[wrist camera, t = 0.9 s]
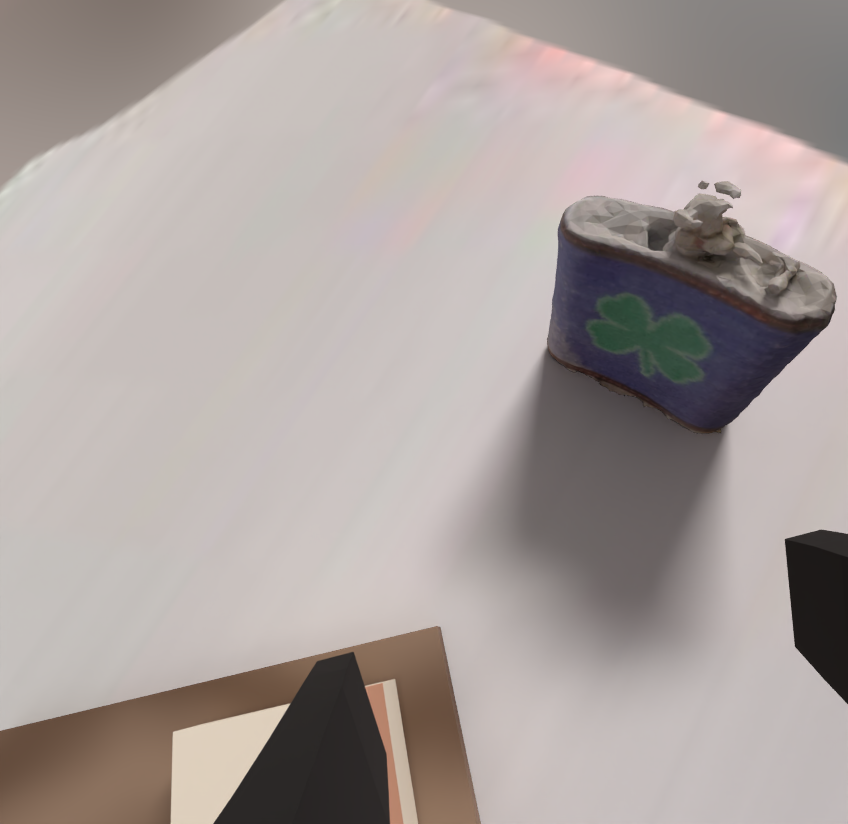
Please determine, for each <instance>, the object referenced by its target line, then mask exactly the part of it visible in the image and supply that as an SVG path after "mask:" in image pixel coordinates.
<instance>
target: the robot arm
mask: <svg viewBox="0 0 848 824" xmlns="http://www.w3.org/2000/svg"><path fill="white" fill-rule="evenodd" d="M785 546H786V557H787V567H788V578H789V588H790V599H791V610H792V620H793V631H794V641H795V647H796V648H797V649H798V650H799V652H800V653H801V654H802V655H803V656H804V657H805V658H806V659H807V661H808V662H809V663H810V664H811V665H812V666H813V667H814V668H815V670H816V671H817V672H818V673H819V674H820V675H821V676H822V677H823V678H824V680H825V681H826V682H827V683H828V684H829V685H830V686H831V687H832V688H833V689H834V690H835V691H836V692H837V693H838V694H839V695H840V696H841V697H842V699H843V700H844V701H845V702H846V703H847V704H848V534H844V533H839V532H833V531H827V530H818V531H814V532H810V533H806V534H803V535H799V536H795V537H791V538H787V539H785ZM213 824H390V810H389V788H388V770H387V754H386V750H385V747H384V744H383V741H382V738H381V735H380V732H379V729H378V726H377V723H376V719H375V716H374V713H373V710H372V707H371V704H370V701H369V698H368V695H367V692H366V688H365V685H364V682H363V679H362V676H361V673H360V670H359V667H358V664H357V661H356V657H355V654H354V652H350V653H346V654H342V655H339V656H335V657H331V658H327V659H323V660H319V661H317V662H316V664H315V665H314V667H313V668H312V670H311V671H310V673H309V675H308V676H307V678H306V679H305V681H304V682H303V684H302V686H301V687H300V689H299V690H298V692H297V694H296V695H295V697H294V699H293V700H292V702H291V704H290V705H289V707H288V708H287V710H286V712H285V713H284V715H283V717H282V718H281V720H280V721H279V723H278V725H277V726H276V728H275V730H274V731H273V733H272V734H271V736H270V738H269V739H268V741H267V742H266V744H265V746H264V747H263V749H262V750H261V752H260V753H259V755H258V757H257V758H256V760H255V761H254V763H253V764H252V766H251V767H250V769H249V771H248V772H247V774H246V775H245V777H244V778H243V780H242V782H241V783H240V785H239V786H238V788H237V789H236V791H235V792H234V794H233V795H232V797H231V799H230V800H229V801H228V803H227V804H226V806H225V807H224V809H223V810H222V812H221V813H220V814H219V816H218V817H217V819H216V820H215V822H214V823H213Z"/></svg>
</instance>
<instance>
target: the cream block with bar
mask: <svg viewBox="0 0 848 824" xmlns="http://www.w3.org/2000/svg"><path fill="white" fill-rule="evenodd" d="M365 688H366V692H367V695H368V698H369V701H370V704H371V707H372V710H373V713H374V716H375V719H376V723H377V726H378V729H379V732H380V735H381V738H382V741H383V744H384V747H385V750H386V754H387V770H388V788H389V810H390V824H418V819H417V813H416V807H415V800H414V794H413V788H412V782H411V775H410V769H409V763H408V757H407V750H406V744H405V738H404V731H403V725H402V719H401V713H400V706H399V700H398V694H397V688H396V681H395V679H392V680H388V681H384V682H379V683H375V684H371V685H367V686H365ZM290 704H291V703H290ZM290 704H285V705H281V706H277V707H273V708H268V709H264V710H260V711H256V712H251V713H247V714H243V715H239V716H234V717H230V718H226V719H221V720H217V721H213V722H209V723H204V724H201V725H197V726H193V727H189V728H186V729H182V730H178V731H174V732H173V747H172V788H171V824H213V823H214V822H215V820H216V819H217V817H218V816H219V814H220V813H221V812H222V810H223V809H224V807H225V806H226V804H227V803H228V801H229V800H230V799H231V797H232V795H233V794H234V792H235V791H236V789H237V788H238V786H239V785H240V783H241V782H242V780H243V778H244V777H245V775H246V774H247V772H248V771H249V769H250V767H251V766H252V764H253V763H254V761H255V760H256V758H257V757H258V755H259V753H260V752H261V750H262V749H263V747H264V746H265V744H266V742H267V741H268V739H269V738H270V736H271V734H272V733H273V731H274V730H275V728H276V726H277V725H278V723H279V721H280V720H281V718H282V717H283V715H284V713H285V712H286V710H287V708H288V707H289V705H290Z"/></svg>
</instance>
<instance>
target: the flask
mask: <svg viewBox="0 0 848 824" xmlns="http://www.w3.org/2000/svg"><path fill="white" fill-rule="evenodd" d="M708 185H709V183H707V182H704V181H701V183H700V184H699V185H698V187H699V188H700V189H706V188H707V187H708ZM714 185H715V188H716V192H719V193H723V194H727V195H730V196H731V197H732V198H733V199H734V198H740V196H741V189H739V188H738V187H736V186H735V185H733V184H731V183H730V182H728V181H725V182H718V183H715V184H714ZM728 208H733V206H732V205H731V204H730V203H729V202H727V201H725V200H724V199H717V198H716V197H715V196H711V195H706V194H698V195H696V196H695V197H694V199H692V200H691V201H690V202H689V203H688V204H687V206H686V207H685V208H684V210H677V211H675V212H673V211H670V210H667V209H664V208H659V207H653V206H648V205H642V204H638V203H634V202H631V201H627V200H622V199H614V198H608V197H605V196H587V197H585V198H583V199H581V200H579V201H577V202H575V203H574V204H572V205H571V206H570V207H568V208H567V209H566V210H565V211H564V213H563V216H562V218H561V221H560V224H559V228H558V259H557V269H556V281H555V289H554V295H553V299H552V314H551V320H550V327H549V334H548V338H547V344H548V350H549V352H550V354H551V356H552V357H553V358H555V359H556V360H557V361H558V362H559V363H560V364H561V365H563V366H565V367H566V368H567V369H568V370H570V371H572V372H574V373H575V372H576V371H580V372H582V373H584V374H586V375H588V376H589V377H591V378H594V380H595V381H598V382H599V383H600V385H602V386H604V387H607V388H608V389H609V391H614V392H616V393H617V394H619V395H624V396H625V395H627V396H636V397H637V398H639V399H640V400H642V401H643V407H645V406H648V407H653V408H657V409H658V410H660V411H662V412H663V413H664V414H665V415H666V416H667V419H672V420H674V421H675V422H678V423H679V424H680V425H682V426H684V427H686V428H688V429H689V430H690V431H692V432H694V433H712V432H718V433H721V428H722V427H724V426H725V425H727V424H729V423H731V422H732V421H733V420H734V419H735V418H737V417H738V416H739V414H740V413H741V412H742V411H743V410H744V409H745V408H746V407H747V406H748V405H749V404H750V403H751V401H752V400H753V399H754V398H756V397H757V396H759V395H760V393H761V392H762V390H763V389H764V388H765V387H766V386H767V385H768V384H769V383H770V382H771V381H772V380H773V378H775V377H776V376H777V375H778V374H780V372H781V371H782V370H783V369H784V368H785V366H786V365H787V364H789V363H790V362H791V361H792V360H793V359H794V358H795V357H796V356H797V355H798V354H799V353H800V352H801V351H802V350H803V349H804V348H805V347H806V346H807V345H808V344H809V343H810V342H811V340H812V339H813V338H814V337H816V336H817V335H819V333H820V332H821V331H822V330H823V329H825V328H826V327H827V326H828V324H829V323H830V320H831V317H832V314H833V313H834V310H835V302H836V297H837V296H836V292H835V288H834V284H833V283H832V282H831V281H830V280H829V279H828V277H827V276H825V275H824V274H822V272H820V271H818V270H816V269H815V268H813V267H811V266H809V265H807V264H805V263H803V262H800V261H798V260H795V259H793V258H791V257H789V256H787V255H785V254H783V253H781V252H779V251H778V250H776V249H774V248H772V247H771V246H769V245H767V244H765V243H762V242H760V241H758V240H756V239H753V238H751V237H748V236H746V235H745V231H744V229H743V228H742V227H741V226H740V225H739V224H738V222H737V220H736V219H733V218H729V217H722V214H723V213H724V212H726V211H727V209H728Z"/></svg>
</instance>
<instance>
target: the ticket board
mask: <svg viewBox="0 0 848 824" xmlns="http://www.w3.org/2000/svg"><path fill="white" fill-rule="evenodd" d="M350 652H354V654H355V657H356V661H357V664H358V667H359V670H360V673H361V676H362V679H363V682H364V685H365V686H367V685H371V684H375V683H379V682H384V681H388V680H392V679H395V681H396V688H397V694H398V700H399V706H400V713H401V719H402V725H403V731H404V738H405V744H406V750H407V757H408V763H409V769H410V775H411V782H412V788H413V794H414V800H415V807H416V813H417V819H418V824H481V823H480V818H479V813H478V808H477V803H476V798H475V794H474V789H473V784H472V779H471V774H470V769H469V764H468V760H467V755H466V750H465V745H464V740H463V735H462V730H461V726H460V721H459V716H458V711H457V706H456V701H455V696H454V692H453V687H452V682H451V677H450V672H449V667H448V662H447V657H446V653H445V648H444V643H443V638H442V633H441V628H440V627H438V626H436V627H432V628H428V629H423V630H419V631H415V632H411V633H407V634H403V635H398V636H394V637H390V638H386V639H382V640H378V641H373V642H369V643H365V644H361V645H357V646H353V647H348V648H344V649H340V650H336V651H332V652H328V653H323V654H319V655H315V656H311V657H307V658H303V659H298V660H294V661H290V662H286V663H282V664H277V665H273V666H269V667H265V668H261V669H257V670H252V671H248V672H244V673H240V674H236V675H232V676H227V677H223V678H219V679H215V680H211V681H207V682H202V683H198V684H194V685H190V686H186V687H182V688H177V689H173V690H169V691H165V692H161V693H157V694H152V695H148V696H144V697H140V698H136V699H132V700H127V701H123V702H119V703H115V704H111V705H107V706H102V707H98V708H94V709H90V710H86V711H82V712H77V713H73V714H69V715H65V716H61V717H57V718H52V719H48V720H44V721H40V722H36V723H32V724H27V725H23V726H19V727H15V728H11V729H7V730H2V731H0V824H171V788H172V747H173V732H174V731H178V730H182V729H186V728H189V727H193V726H197V725H201V724H204V723H209V722H213V721H217V720H221V719H226V718H230V717H234V716H239V715H243V714H247V713H251V712H256V711H260V710H264V709H268V708H273V707H277V706H281V705H285V704H290V703H291V702H292V700H293V699H294V697H295V695H296V694H297V692H298V690H299V689H300V687H301V686H302V684H303V682H304V681H305V679H306V678H307V676H308V675H309V673H310V671H311V670H312V668H313V667H314V665H315V664H316V662H317V661H319V660H323V659H327V658H331V657H335V656H339V655H342V654H346V653H350Z"/></svg>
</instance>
